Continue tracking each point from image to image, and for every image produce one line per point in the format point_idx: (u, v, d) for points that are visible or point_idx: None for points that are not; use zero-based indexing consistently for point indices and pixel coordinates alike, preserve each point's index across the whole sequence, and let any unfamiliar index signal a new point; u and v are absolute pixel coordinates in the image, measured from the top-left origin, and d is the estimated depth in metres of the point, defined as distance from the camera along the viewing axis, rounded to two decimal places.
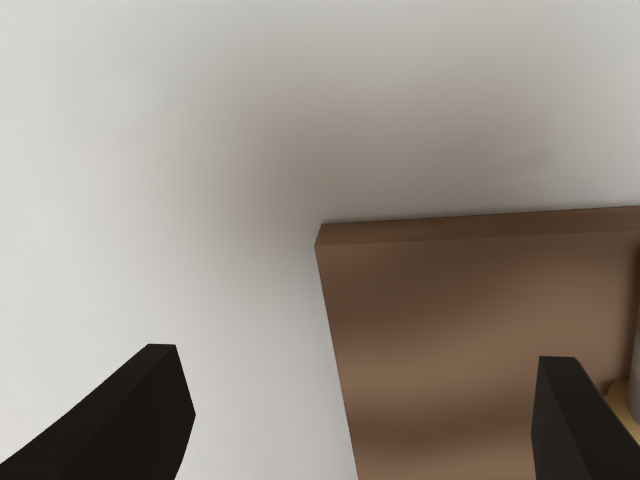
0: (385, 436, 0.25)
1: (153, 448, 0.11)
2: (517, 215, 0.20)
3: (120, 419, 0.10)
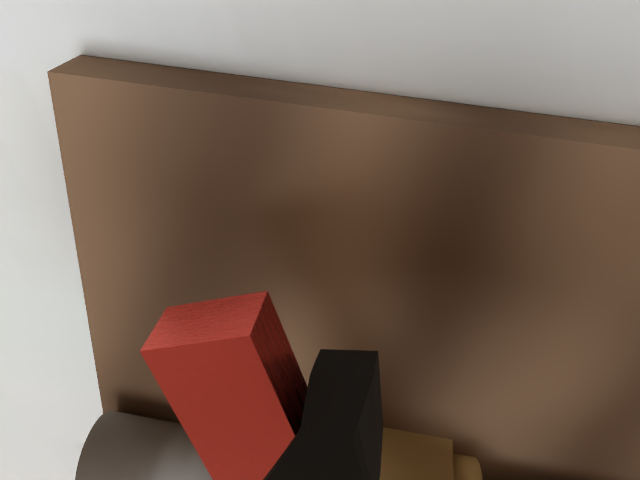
0: None
1: (370, 462, 0.10)
2: None
3: (359, 433, 0.09)
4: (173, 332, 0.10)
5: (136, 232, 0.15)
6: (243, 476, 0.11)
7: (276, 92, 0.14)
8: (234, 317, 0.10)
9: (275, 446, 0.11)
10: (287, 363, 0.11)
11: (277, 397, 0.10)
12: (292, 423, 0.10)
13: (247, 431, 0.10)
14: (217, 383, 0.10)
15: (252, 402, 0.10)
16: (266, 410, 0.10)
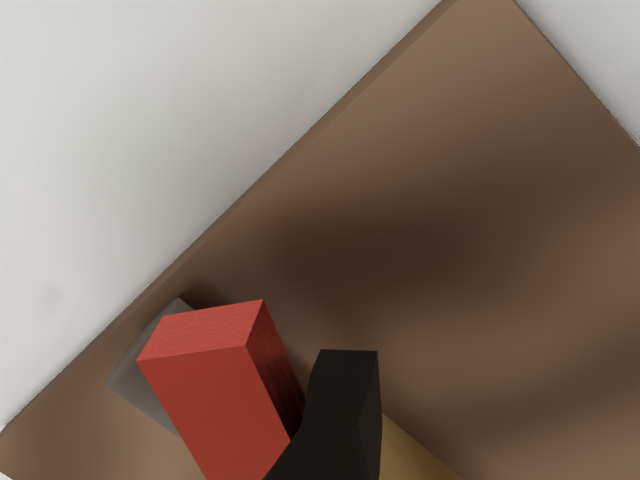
0: None
1: (369, 463, 0.10)
2: (88, 345, 0.20)
3: None
4: (169, 342, 0.10)
5: (395, 170, 0.13)
6: None
7: None
8: (230, 326, 0.10)
9: (272, 454, 0.11)
10: (283, 371, 0.11)
11: (273, 406, 0.10)
12: (289, 431, 0.10)
13: (244, 439, 0.10)
14: (213, 392, 0.10)
15: (249, 411, 0.10)
16: (262, 418, 0.10)
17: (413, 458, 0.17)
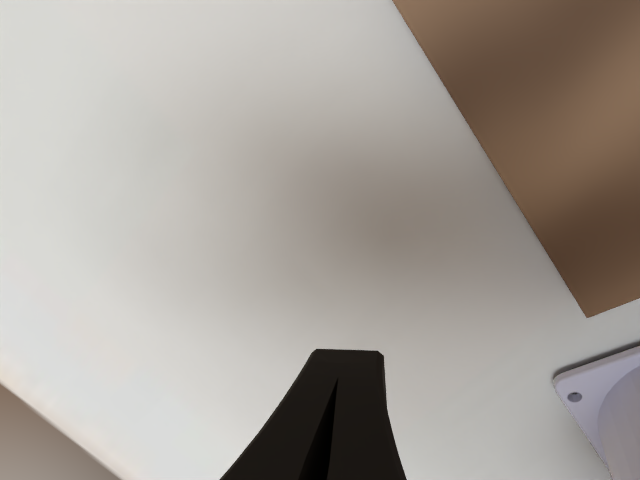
0: (504, 74, 0.16)
1: None
2: None
3: (322, 430, 0.10)
4: None
5: None
6: None
7: None
8: None
9: None
10: None
11: None
12: None
13: None
14: None
15: None
16: None
17: None
